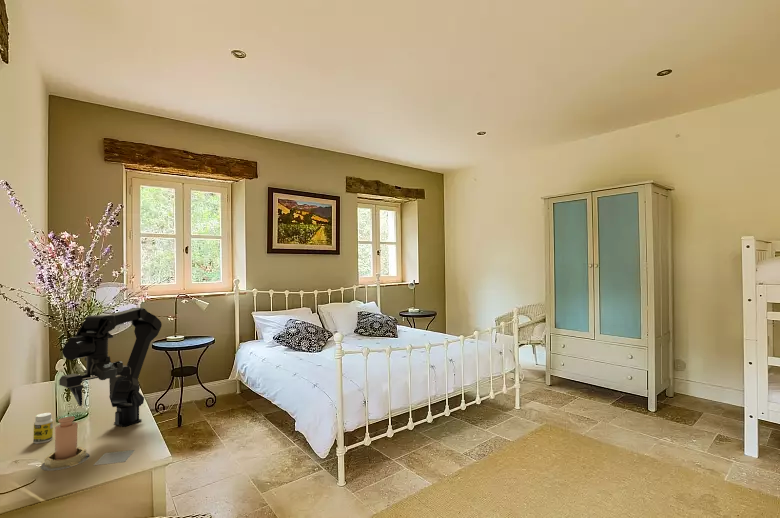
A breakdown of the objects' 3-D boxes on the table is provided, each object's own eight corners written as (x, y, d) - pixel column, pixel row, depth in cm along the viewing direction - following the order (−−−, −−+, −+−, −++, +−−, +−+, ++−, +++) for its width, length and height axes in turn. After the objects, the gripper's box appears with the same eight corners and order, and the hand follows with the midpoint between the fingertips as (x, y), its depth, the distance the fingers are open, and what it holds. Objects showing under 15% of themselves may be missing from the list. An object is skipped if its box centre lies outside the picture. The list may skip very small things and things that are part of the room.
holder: (78, 451, 125) (78, 442, 125) (97, 459, 120) (97, 450, 120) (33, 466, 115) (33, 457, 115) (51, 476, 110) (51, 466, 110)
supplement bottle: (30, 445, 130) (31, 418, 130) (36, 439, 134) (36, 413, 135) (49, 442, 132) (50, 415, 132) (54, 436, 136) (55, 411, 137)
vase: (72, 455, 121) (72, 414, 121) (80, 459, 119) (80, 417, 119) (51, 462, 117) (52, 419, 117) (59, 466, 114) (60, 422, 115)
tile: (104, 455, 122) (104, 453, 122) (135, 451, 124) (135, 449, 124) (92, 467, 115) (92, 465, 115) (125, 463, 117) (125, 461, 117)
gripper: (76, 361, 123) (75, 414, 122) (140, 351, 139) (139, 397, 139) (59, 358, 129) (58, 408, 128) (122, 348, 145) (121, 393, 144)
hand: (96, 401), depth 134 cm, fingers open, 9 cm apart
